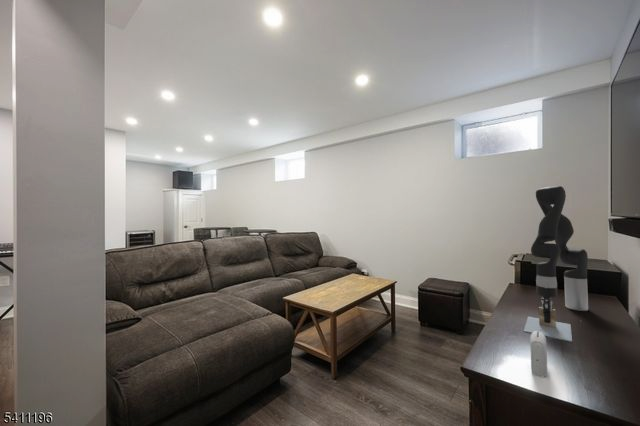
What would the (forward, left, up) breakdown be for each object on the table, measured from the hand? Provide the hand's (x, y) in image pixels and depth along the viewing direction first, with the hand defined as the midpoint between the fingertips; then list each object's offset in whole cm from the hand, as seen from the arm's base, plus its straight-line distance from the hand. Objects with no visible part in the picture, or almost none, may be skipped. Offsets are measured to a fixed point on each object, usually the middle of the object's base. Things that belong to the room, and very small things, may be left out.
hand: (547, 321), depth 126 cm
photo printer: (+47, -1, -2) cm, 47 cm away
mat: (+3, 0, -2) cm, 4 cm away
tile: (0, 0, -2) cm, 2 cm away
